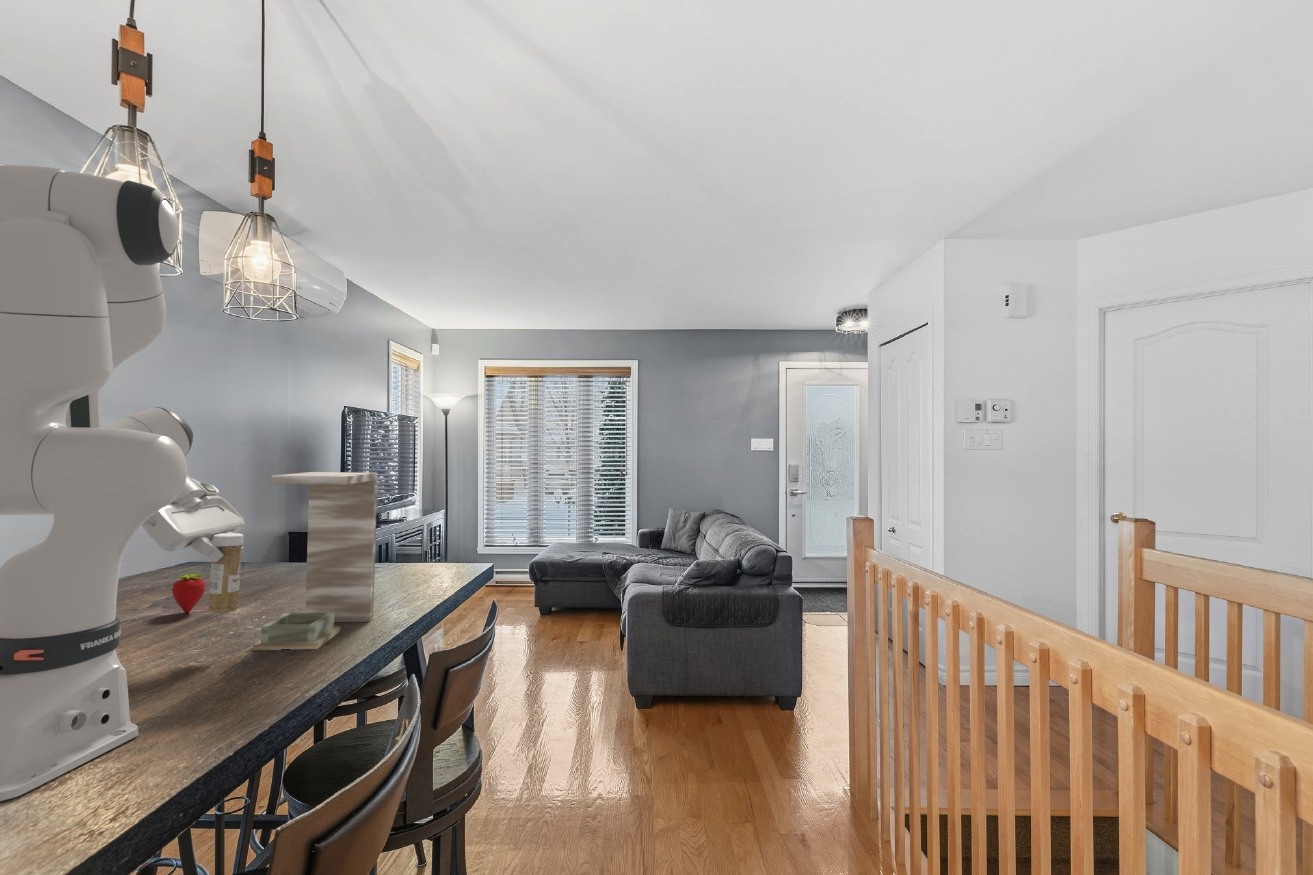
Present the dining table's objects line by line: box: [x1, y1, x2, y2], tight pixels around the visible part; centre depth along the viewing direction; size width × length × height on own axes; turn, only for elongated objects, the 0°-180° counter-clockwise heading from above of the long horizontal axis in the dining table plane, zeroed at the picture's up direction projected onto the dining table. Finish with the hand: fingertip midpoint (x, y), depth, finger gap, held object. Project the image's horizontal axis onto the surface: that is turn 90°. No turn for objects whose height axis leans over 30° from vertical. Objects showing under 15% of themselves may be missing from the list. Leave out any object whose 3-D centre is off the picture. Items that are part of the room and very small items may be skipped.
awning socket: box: [252, 471, 378, 651], centre depth 123 cm, size 20×14×32 cm
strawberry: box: [171, 566, 207, 614], centre depth 136 cm, size 6×8×10 cm
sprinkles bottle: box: [207, 532, 244, 614], centre depth 110 cm, size 5×5×14 cm
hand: (230, 556), depth 111 cm, fingers closed on sprinkles bottle, 4 cm apart
